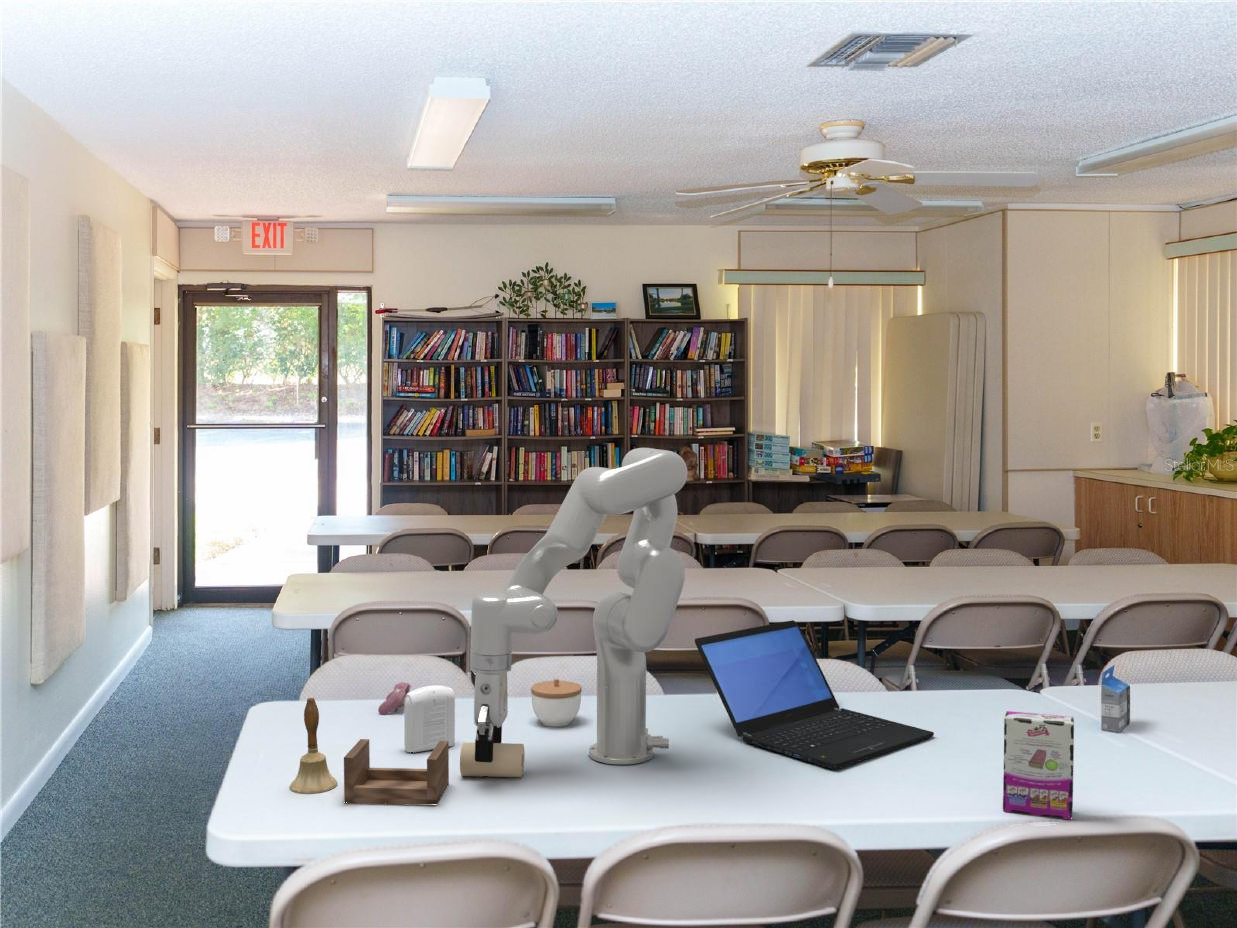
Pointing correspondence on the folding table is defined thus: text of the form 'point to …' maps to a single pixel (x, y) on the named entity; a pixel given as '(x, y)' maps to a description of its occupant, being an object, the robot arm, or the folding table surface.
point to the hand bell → (312, 759)
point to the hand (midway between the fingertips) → (488, 753)
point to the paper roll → (503, 765)
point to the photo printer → (429, 718)
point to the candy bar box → (1038, 764)
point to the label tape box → (1114, 703)
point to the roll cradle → (395, 778)
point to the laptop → (792, 699)
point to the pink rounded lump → (395, 698)
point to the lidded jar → (556, 702)
